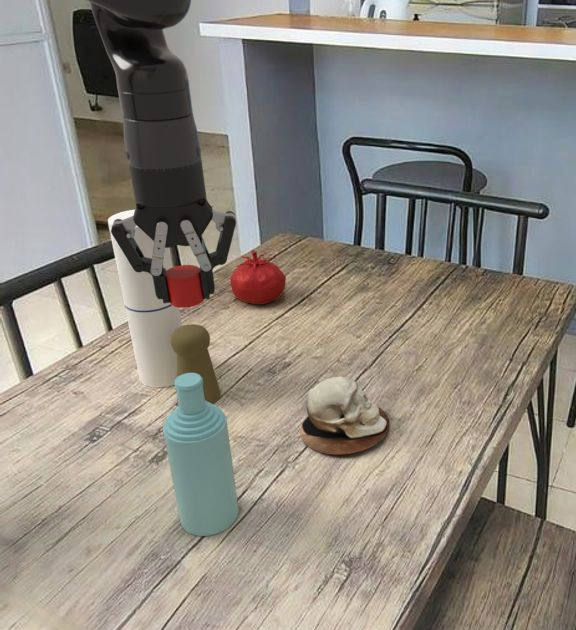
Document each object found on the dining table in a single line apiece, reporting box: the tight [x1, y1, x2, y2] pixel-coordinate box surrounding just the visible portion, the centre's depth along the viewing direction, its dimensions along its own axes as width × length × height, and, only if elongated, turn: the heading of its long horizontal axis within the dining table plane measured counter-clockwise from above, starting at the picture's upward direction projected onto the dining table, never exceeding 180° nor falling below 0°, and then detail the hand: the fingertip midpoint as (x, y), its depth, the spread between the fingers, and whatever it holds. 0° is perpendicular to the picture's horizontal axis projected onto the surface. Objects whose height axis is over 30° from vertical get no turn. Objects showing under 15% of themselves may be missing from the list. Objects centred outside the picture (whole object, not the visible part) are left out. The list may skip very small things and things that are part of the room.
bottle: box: [162, 373, 240, 537], centre depth 73 cm, size 6×6×18 cm
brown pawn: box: [171, 323, 222, 404], centre depth 96 cm, size 6×6×11 cm
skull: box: [299, 375, 391, 455], centre depth 92 cm, size 12×10×10 cm
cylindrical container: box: [107, 209, 183, 389], centre depth 97 cm, size 7×7×25 cm
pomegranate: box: [230, 250, 287, 305], centre depth 125 cm, size 10×10×9 cm
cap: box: [165, 264, 205, 309], centre depth 81 cm, size 4×4×4 cm
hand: (186, 297), depth 82 cm, fingers closed on cap, 4 cm apart
